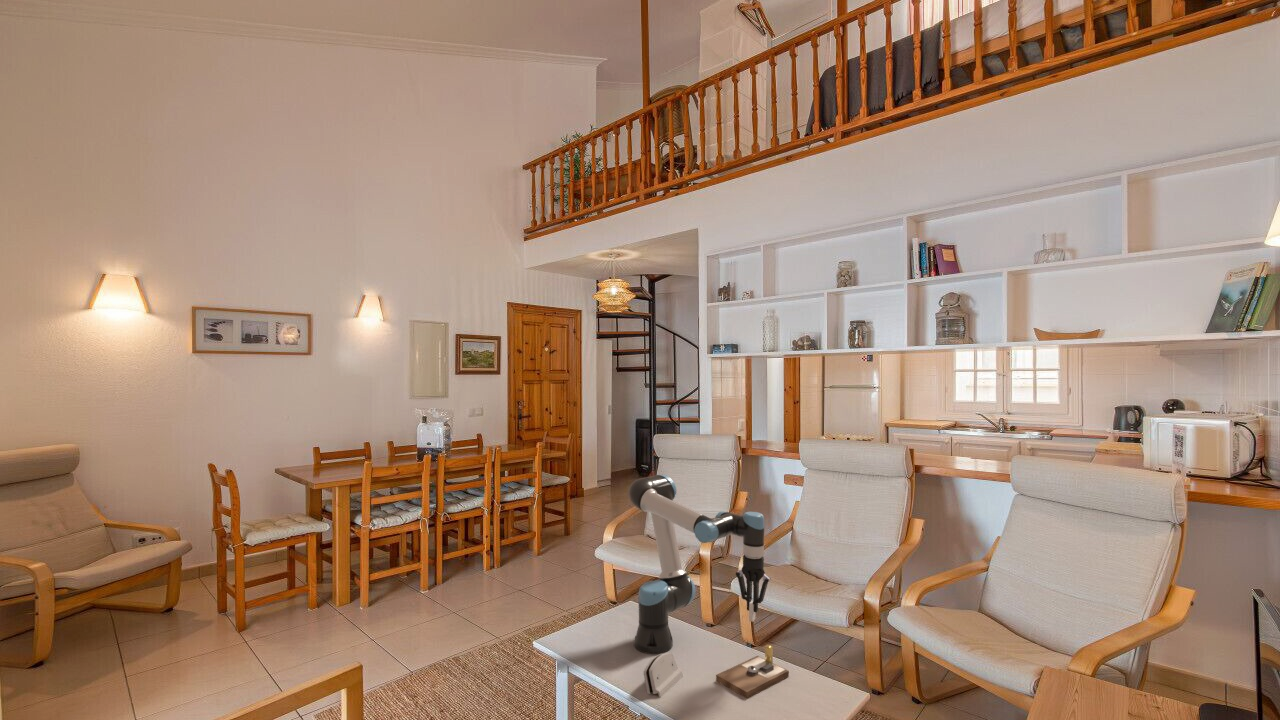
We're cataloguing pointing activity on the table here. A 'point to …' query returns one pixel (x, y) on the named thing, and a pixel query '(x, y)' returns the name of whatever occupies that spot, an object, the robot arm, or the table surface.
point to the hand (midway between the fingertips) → (752, 619)
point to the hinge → (661, 674)
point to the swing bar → (767, 661)
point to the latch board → (751, 677)
